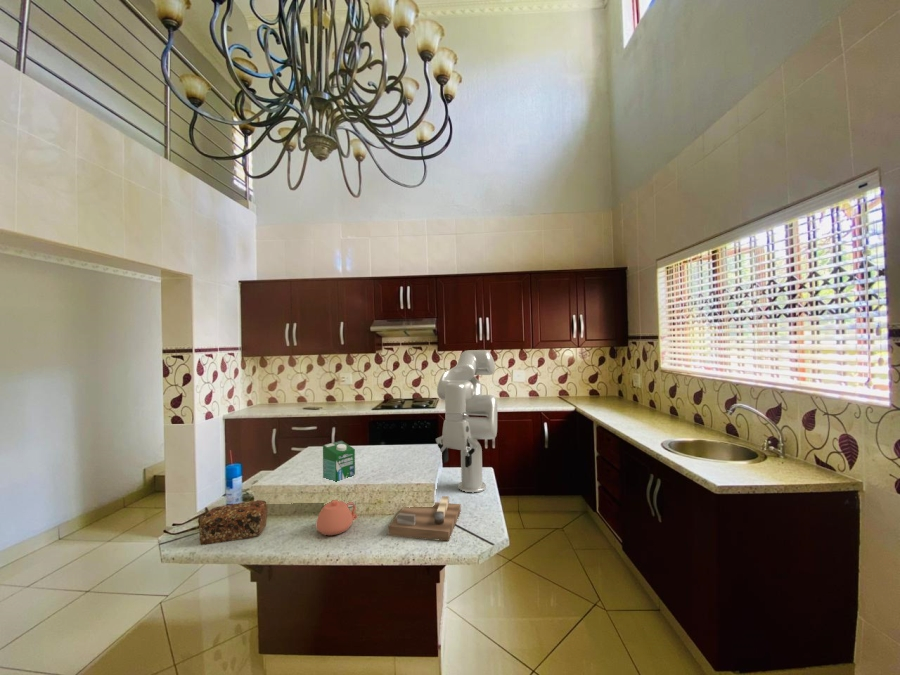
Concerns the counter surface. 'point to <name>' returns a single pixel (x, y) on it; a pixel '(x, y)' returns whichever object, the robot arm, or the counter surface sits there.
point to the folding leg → (441, 510)
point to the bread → (233, 522)
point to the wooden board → (424, 522)
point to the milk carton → (338, 461)
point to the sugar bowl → (335, 517)
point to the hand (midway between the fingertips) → (456, 464)
